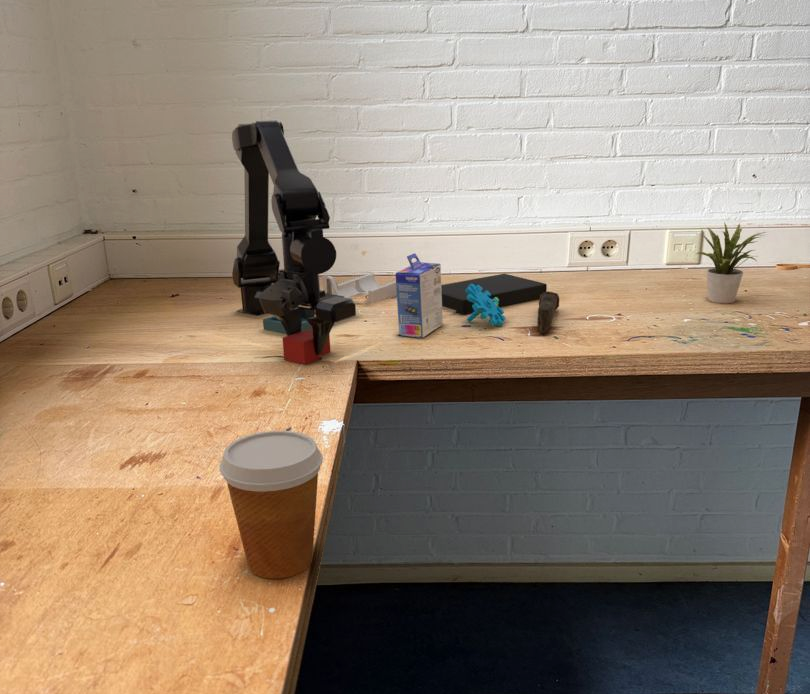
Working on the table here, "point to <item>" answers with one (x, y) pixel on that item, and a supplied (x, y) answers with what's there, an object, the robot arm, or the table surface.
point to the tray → (277, 326)
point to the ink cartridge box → (419, 298)
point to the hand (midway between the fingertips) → (307, 351)
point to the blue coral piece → (484, 305)
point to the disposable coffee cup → (274, 499)
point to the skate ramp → (360, 288)
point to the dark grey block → (311, 313)
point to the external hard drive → (492, 291)
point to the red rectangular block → (302, 347)
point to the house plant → (726, 266)
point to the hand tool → (547, 310)
